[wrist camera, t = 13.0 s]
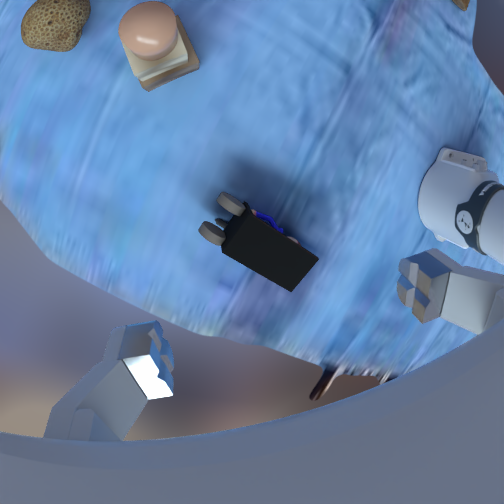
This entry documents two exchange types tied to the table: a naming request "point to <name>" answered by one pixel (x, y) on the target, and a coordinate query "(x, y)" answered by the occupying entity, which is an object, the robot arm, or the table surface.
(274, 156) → the table surface
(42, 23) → the natural sponge
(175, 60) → the tower top
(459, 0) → the stone cup
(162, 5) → the tan rounded cylinder
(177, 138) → the table surface
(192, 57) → the tower base
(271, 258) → the toy car
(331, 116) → the table surface
